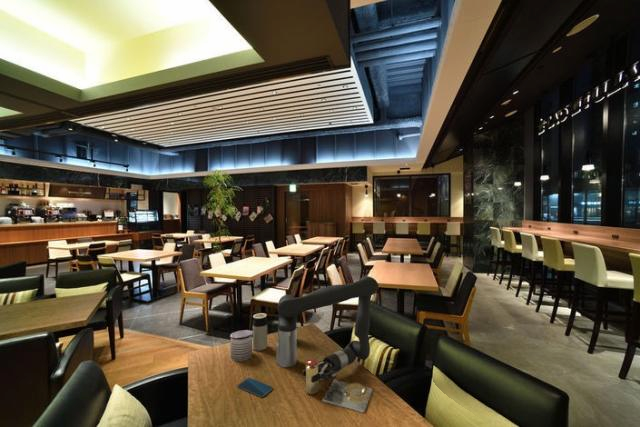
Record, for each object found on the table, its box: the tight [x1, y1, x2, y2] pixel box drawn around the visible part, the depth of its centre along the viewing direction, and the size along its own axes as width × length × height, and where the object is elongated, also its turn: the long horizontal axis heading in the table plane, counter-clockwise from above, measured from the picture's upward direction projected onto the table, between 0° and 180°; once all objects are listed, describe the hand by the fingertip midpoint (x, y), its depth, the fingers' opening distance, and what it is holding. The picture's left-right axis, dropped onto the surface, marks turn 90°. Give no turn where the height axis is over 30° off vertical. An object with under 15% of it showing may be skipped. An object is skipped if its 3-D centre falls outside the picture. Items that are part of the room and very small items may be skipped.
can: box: [229, 329, 253, 362], centre depth 146 cm, size 11×11×12 cm
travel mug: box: [252, 312, 268, 352], centre depth 154 cm, size 8×8×18 cm
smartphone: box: [236, 377, 274, 399], centre depth 118 cm, size 8×15×1 cm, turn 60°
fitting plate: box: [321, 379, 373, 414], centre depth 113 cm, size 17×14×2 cm
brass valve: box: [305, 357, 319, 395], centre depth 116 cm, size 5×5×12 cm
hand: (307, 376), depth 114 cm, fingers closed on brass valve, 5 cm apart
